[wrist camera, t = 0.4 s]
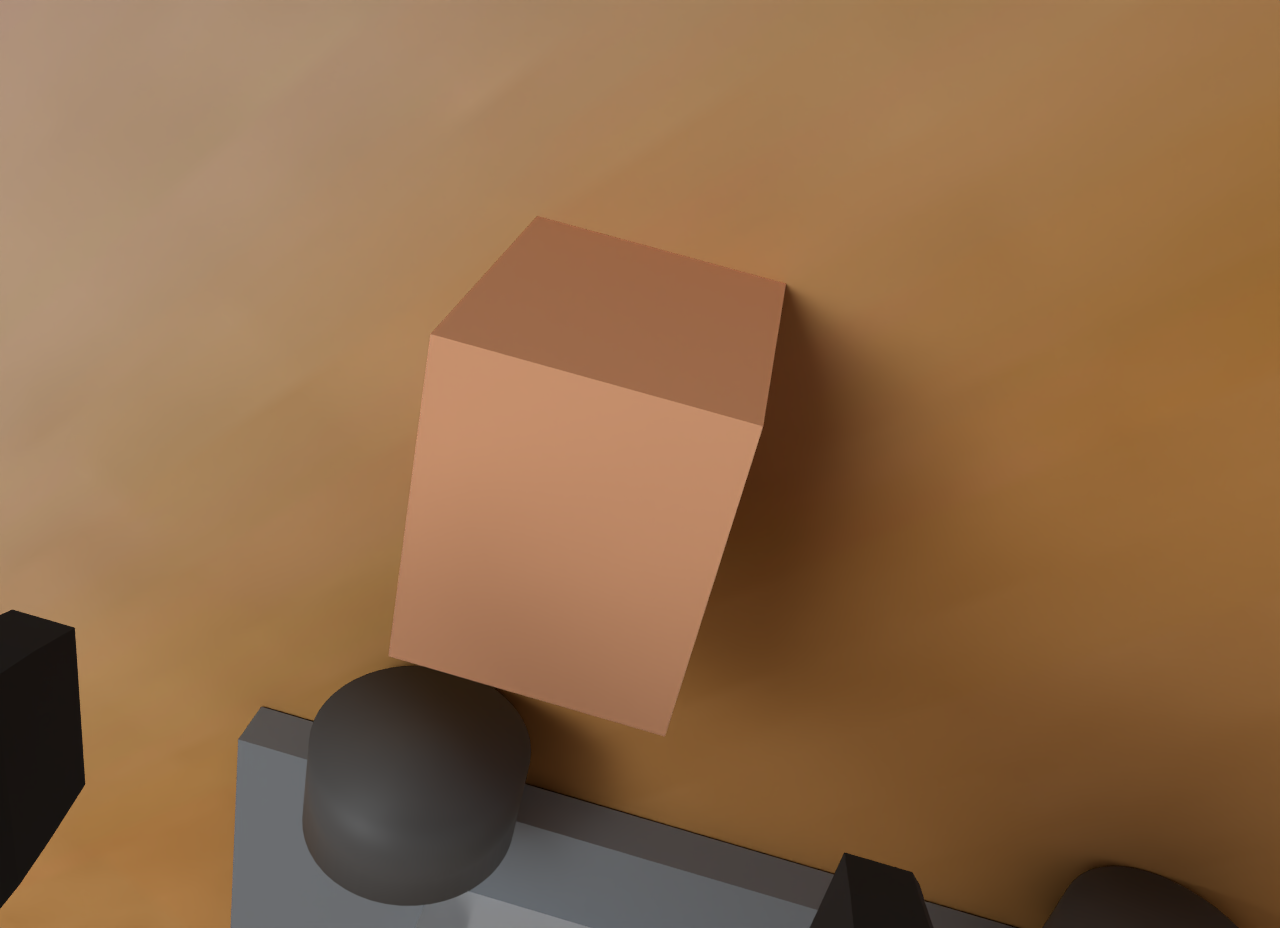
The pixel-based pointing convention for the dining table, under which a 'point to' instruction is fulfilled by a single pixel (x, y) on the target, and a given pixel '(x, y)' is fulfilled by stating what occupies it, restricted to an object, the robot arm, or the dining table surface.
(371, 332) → the dining table surface
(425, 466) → the orange block
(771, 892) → the chassis
